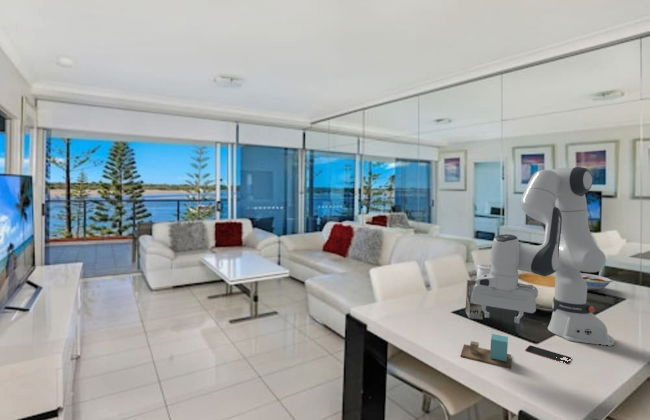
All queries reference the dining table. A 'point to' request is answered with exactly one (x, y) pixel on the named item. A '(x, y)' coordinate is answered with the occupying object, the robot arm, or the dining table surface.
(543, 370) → the dining table surface
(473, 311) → the coffee box
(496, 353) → the teal block
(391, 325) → the dining table surface
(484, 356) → the board
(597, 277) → the ramen bowl
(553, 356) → the smartphone
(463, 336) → the dining table surface
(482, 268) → the jar
